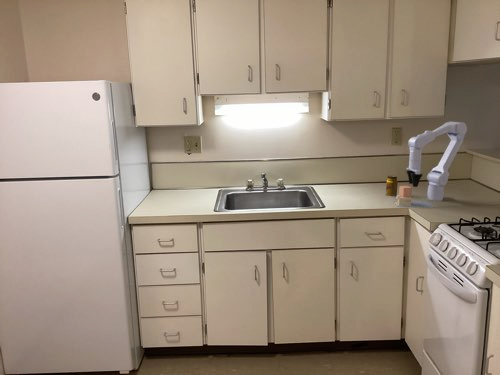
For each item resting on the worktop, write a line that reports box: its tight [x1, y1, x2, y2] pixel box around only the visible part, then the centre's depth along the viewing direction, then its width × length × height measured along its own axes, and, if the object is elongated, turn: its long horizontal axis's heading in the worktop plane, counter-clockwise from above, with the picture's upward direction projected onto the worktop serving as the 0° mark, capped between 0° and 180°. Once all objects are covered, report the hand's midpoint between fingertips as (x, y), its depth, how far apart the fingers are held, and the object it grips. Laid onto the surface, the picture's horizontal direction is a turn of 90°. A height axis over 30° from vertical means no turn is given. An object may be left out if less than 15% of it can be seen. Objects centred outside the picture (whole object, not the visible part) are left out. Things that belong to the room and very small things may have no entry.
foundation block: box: [395, 194, 412, 205], centre depth 222 cm, size 6×6×4 cm
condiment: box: [385, 175, 398, 197], centre depth 241 cm, size 7×8×12 cm
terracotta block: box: [398, 185, 413, 198], centre depth 222 cm, size 4×4×5 cm
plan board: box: [392, 200, 435, 208], centre depth 222 cm, size 12×18×1 cm, turn 84°
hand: (413, 185), depth 225 cm, fingers open, 7 cm apart
